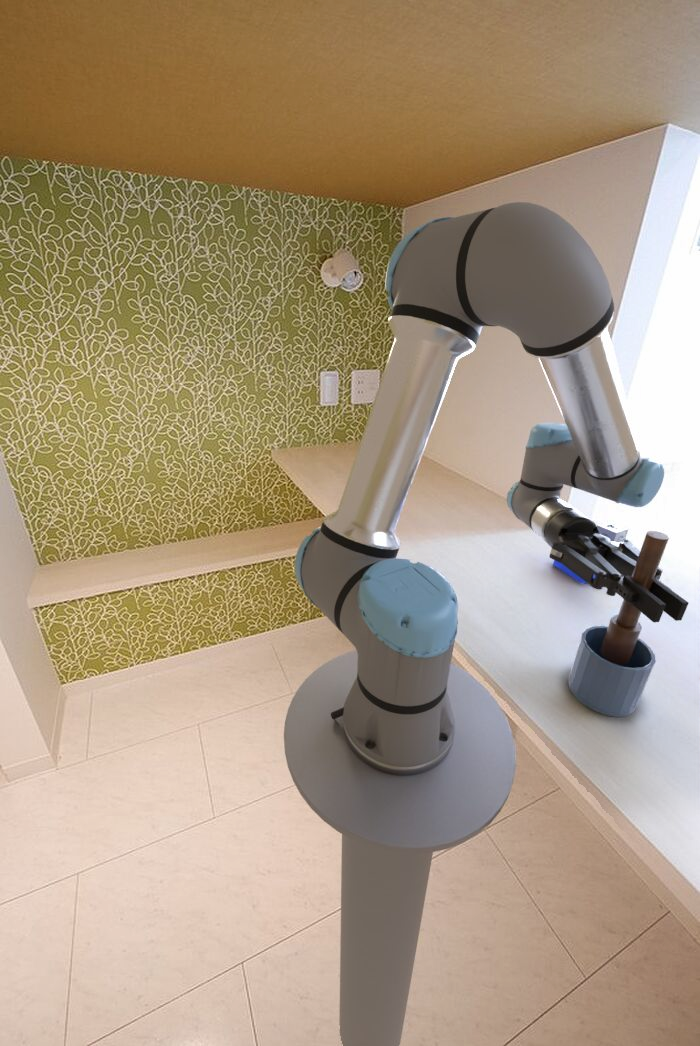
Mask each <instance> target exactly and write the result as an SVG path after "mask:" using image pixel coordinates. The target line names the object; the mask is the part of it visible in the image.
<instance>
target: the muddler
mask: <svg viewBox="0 0 700 1046" xmlns="http://www.w3.org/2000/svg"><path fill="white" fill-rule="evenodd" d="M669 539H670V537H669V536H668V535H667V534H665V533H664V532H660V531H654V530H649V531H646V534H645V537H644V540H643V541H642V545H641V548H640V550H639V551H640V554H639V557H638V560H637V562H636V565H635V568H634V571H633V574H632V577H631V578H633V579H634V580H635V581H636V582H638V583H639V584H640V585H642V586H643V587H644V588H645V589H647V590H648V591H649V590H650V587H651V585H652V582H653V579H654V577H655V574H656V571H657V569H658V567H660V563H661V561H662V558H663V555H664V552H665V550H666V547H667V545H668V542H669ZM641 614H642V612H641V611H639V610H638V609H637V608H636V607H635V606H634V605H632V604H631V603H630V602H627V601H626V600H624V599H622V602H621V606H620V609H619V611H618V614H614V615H612V616H611V617H610V619H609V623H608V625H607V627H608V629H607V632H606V635H605V637H604V640H603V643H602V646H601V649H600V652H601V655H602V656H603V657H604V658H605V659H607V660H608V661H610V662H612V663H615V664H621V665H622V664H627V663H628V662H629V660H630V658H631V655H632V653H633V650H634V647H635V645H636V642H637V639H638V638H640V637H639V636H640V634H641V632H642V630H643V629H642V628H643V626H642V624H641V622H639V619H640V616H641Z"/></svg>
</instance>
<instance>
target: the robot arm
mask: <svg viewBox="0 0 700 1046" xmlns="http://www.w3.org/2000/svg"><path fill="white" fill-rule="evenodd" d="M384 286H385V291H386V292H387V294H388V296H387V298H386V299H387V302H388V305H389V307H390V310H391V311H390V314H389V317H388V320H387V324H388V326H389V328H390V330H391V332H392V336H393V343H392V346H391V349H390V352H389V355H388V358H387V361H386V363H385V366H384V371H383V372H382V376H381V379H380V382H379V384H378V387H377V391H376V393H375V396H374V400H373V402H372V406H371V409H370V412H369V414H368V418H367V420H366V424H365V426H364V427H365V428H364V430H363V432H362V435H361V439H360V443H359V444H358V448H357V451H356V454H355V456H354V460H353V463H352V466H351V469H350V471H349V476H348V478H347V481H346V483H345V487H344V491H343V493H342V496H341V499H340V502H339V504H338V508H337V509H336V510H335V511H334V512H331V513H329V514H327V515H324V518H323V520H322V523H321V526H318V527H316V528H315V529H313V530H312V531H311V534H310V535H306V536H305V537H304V539H303V540H302V542H300V545H299V547H298V548H297V552H296V555H295V559H294V574H295V578H296V581H297V583H298V585H299V587H300V589H301V590H302V591H303V593H304V595H305V596H306V597H307V598H308V601H309V602H310V603H311V604H312V605H313V606H314V607H316V608H318V610H320V612H322V614H324V616H325V617H326V618H327V619H328V620H329V621H330V622H331V623H332V624H333V625H334V627H336V628H337V630H339V632H341V633H342V635H343V636H344V637H345V638H346V639H347V640H348V641H349V642H350V643H351V644H352V645H353V647H354V648H355V650H357V653H358V665H357V677H356V680H355V682H354V684H353V686H352V688H351V690H350V692H349V694H348V696H347V698H346V701H345V704H344V707H343V708H341V709H339V710H336V711H334V712H332V713H331V717H332V719H333V720H334V719H336V718H338V717H341V716H343V731H344V735H345V738H346V741H347V743H348V745H349V746H350V748H351V749H352V751H353V752H354V753H355V754H356V756H357V757H358V758H360V759H361V760H362V761H363V762H364V763H366V764H367V765H369V766H370V767H372V768H374V769H376V770H379V771H381V772H384V773H387V774H392V775H399V776H409V775H417V774H420V773H424V772H426V771H429V770H431V769H433V768H434V767H436V766H437V765H438V764H440V763H441V762H442V761H443V760H444V759H445V757H446V756H447V755H448V753H449V751H450V749H451V746H452V743H453V738H454V731H455V721H454V714H453V711H452V707H451V702H450V699H449V696H448V692H447V682H448V676H449V671H450V665H451V662H452V658H453V652H454V648H455V641H456V637H457V633H458V624H459V619H458V609H459V605H458V598H457V594H456V591H455V589H454V587H453V586H452V583H450V581H449V580H448V579H447V578H446V577H445V576H444V574H442V573H441V572H439V571H438V570H436V569H435V568H433V567H431V566H430V565H428V564H425V563H422V562H421V561H417V562H415V563H413V562H412V561H411V560H410V559H407V558H397V556H398V553H399V550H400V548H401V544H402V543H401V541H400V539H399V536H398V534H397V532H396V528H397V525H398V522H399V520H400V517H401V514H402V512H403V509H404V506H405V503H406V501H407V497H408V496H409V494H410V493H409V492H410V489H411V487H412V484H413V482H414V479H415V476H416V474H417V471H418V468H419V466H420V463H421V460H422V457H423V455H424V452H425V449H426V446H427V443H428V441H429V438H430V435H431V433H432V430H433V427H434V426H435V422H436V419H437V417H438V414H439V412H440V408H441V406H442V403H443V400H444V398H445V395H446V392H447V390H448V387H449V385H450V382H451V378H452V377H453V373H454V370H455V367H456V365H457V363H458V361H459V360H460V359H461V358H463V357H465V356H466V355H468V354H470V353H473V351H474V350H475V348H476V347H477V343H478V340H479V337H480V335H481V333H482V329H483V327H501V328H504V329H506V330H508V331H510V332H512V333H513V334H514V335H515V336H517V337H518V338H519V341H520V343H521V345H522V348H523V349H524V351H525V352H526V353H527V354H528V355H529V356H531V357H534V358H538V361H539V363H540V366H541V369H542V370H543V372H544V375H545V378H546V380H547V382H548V385H549V387H550V389H551V391H552V395H553V396H554V399H555V401H556V404H557V406H558V408H559V411H560V413H561V415H562V416H561V417H562V418H563V420H564V423H558V422H541V423H536V424H535V425H533V426H531V429H530V432H529V435H528V439H527V443H526V446H525V448H524V449H525V451H524V456H523V457H524V458H523V463H522V469H521V475H520V480H518V481H516V482H515V483H514V484H512V486H511V488H510V489H509V490H508V492H507V494H506V504H507V507H508V509H509V510H510V511H511V512H512V514H513V515H514V516H515V517H516V518H517V519H518V520H520V521H521V522H522V523H524V524H525V525H526V526H528V528H530V529H531V530H532V531H533V532H534V533H535V534H537V535H538V536H539V537H540V538H541V539H542V540H543V541H544V542H545V543H546V544H547V545H548V546H549V547H550V553H549V558H550V559H551V560H553V561H554V560H555V561H558V562H560V563H561V564H563V565H564V566H565V567H567V568H568V569H569V570H571V571H572V572H573V573H575V574H576V575H577V576H579V577H580V578H581V579H583V580H584V581H585V582H587V583H586V584H587V585H589V586H590V587H592V588H593V589H594V590H599V591H601V590H602V589H603V588H606V589H607V590H606V595H607V596H610V597H615V596H616V594H617V595H618V596H619V597H620V598H622V600H626V601H627V602H630V603H631V604H632V605H634V606H635V607H636V608H637V609H638V610H639V611H641V614H642V615H644V616H645V617H646V618H648V620H650V621H651V622H652V623H659V622H660V620H661V619H662V615H663V613H666V614H667V615H668V616H669V617H670V618H671V619H673V620H674V621H675V622H678V621H682V619H683V617H684V615H685V613H686V610H687V608H688V606H689V601H687V600H686V599H684V598H683V597H681V596H680V595H679V594H678V593H676V592H675V591H673V590H672V588H670V587H669V586H667V585H666V584H664V582H662V581H660V579H661V576H662V574H663V569H662V568H661V567H660V566H658V569H657V571H656V574H655V577H654V579H653V582H652V585H651V587H650V590H649V591H648V590H647V589H645V588H644V587H643V586H642V585H640V584H639V583H638V582H636V581H635V580H634V579H633V578H631V577H632V574H633V571H634V568H635V565H636V562H637V560H638V557H639V554H640V551H641V550H639V549H637V548H636V547H635V546H634V545H633V543H632V541H631V540H630V539H627V538H625V539H622V541H621V542H620V543H618V542H611V540H610V539H609V538H608V537H606V536H603V535H601V534H600V533H599V531H598V528H597V524H596V523H595V522H594V520H592V519H591V518H589V517H588V516H587V515H585V514H584V513H582V512H581V511H579V509H577V508H576V507H574V506H572V505H571V504H569V503H568V502H566V501H564V499H562V498H561V494H562V490H563V488H564V485H565V486H567V487H570V488H574V489H576V490H577V489H578V490H580V491H583V492H585V493H589V494H592V495H595V496H597V497H601V498H603V499H605V500H606V499H607V500H609V501H612V502H615V504H621V505H622V504H623V505H626V506H630V507H633V508H643V507H646V506H647V505H648V504H649V503H651V502H652V501H653V499H654V498H655V497H656V495H657V494H658V492H659V491H660V489H661V487H662V485H663V481H664V477H665V468H664V466H663V464H662V463H661V462H659V461H656V460H654V459H650V458H649V457H641V454H640V450H639V447H638V442H637V440H636V435H635V431H634V427H633V424H632V418H631V415H630V412H629V407H628V402H627V399H626V395H625V391H624V387H623V383H622V379H621V375H620V372H619V367H618V363H617V359H616V355H615V351H614V347H613V343H612V339H611V336H610V335H611V334H610V331H609V326H610V324H611V322H612V320H613V318H614V315H615V302H614V299H613V295H612V290H611V287H610V283H609V280H608V277H607V274H606V273H605V271H604V268H603V266H602V264H601V263H600V260H599V259H598V257H597V256H596V254H595V252H594V251H593V249H592V247H591V246H590V245H589V244H588V242H587V241H586V240H585V238H584V237H583V235H581V234H580V232H578V230H577V229H576V228H575V227H574V226H573V225H572V223H570V222H568V221H567V219H565V218H564V217H562V216H561V215H560V214H558V213H556V212H554V210H551V209H549V208H548V207H545V206H542V205H540V204H537V203H532V202H525V201H524V202H523V201H517V202H509V203H503V204H501V205H498V206H497V207H492V208H487V209H484V210H478V211H476V212H471V213H466V214H462V215H459V216H455V217H454V216H442V217H438V218H434V219H431V220H430V221H428V222H426V223H425V224H424V223H423V224H422V225H419V226H417V227H415V228H414V229H412V230H410V231H409V232H408V233H407V234H406V235H404V236H403V237H402V238H401V240H400V241H398V243H397V245H396V246H395V248H394V250H393V252H392V253H391V256H390V258H389V261H388V265H387V268H386V273H385V284H384ZM593 575H595V579H594V578H593ZM622 577H623V578H622Z"/></svg>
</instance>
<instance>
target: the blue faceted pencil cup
mask: <svg viewBox="0 0 700 1046" xmlns="http://www.w3.org/2000/svg"><path fill="white" fill-rule="evenodd" d="M607 629H608V625H607V626H606V625H594V626H590V627H587V628H585V629H584V631H583V632H582V633H581V636H580V639H579V642H578V645H577V648H576V651H575V655H574V658H573V662H572V665H571V668H570V671H569V675H568V679H567V685H568V687H569V690H570V692H571V694H572V696H574V697H575V698H576V699H577V701H579V702H580V703H581V704H582V705H584V706H585V707H587V708H589V710H592V711H594V712H596V713H599V714H601V715H603V716H607V717H612V718H613V717H616V718H623V717H627V716H629V715H631V714H633V713H634V712H635V710H636V708H637V706H638V705H639V702H640V700H641V697H642V695H643V694H644V691H645V688H646V686H647V683H648V681H649V679H650V676H651V674H652V672H653V669H654V667H655V664H656V662H657V661H656V654H655V653H654V651H653V649H652V647H650V646H649V645H648V644H647V643H646V642H645V641H644V640H642V639H641V638H640V637H638V639H637V642H636V645H635V647H634V650H633V653H632V655H631V658H630V660H629V662H628V663H627V664H622V665H621V664H615V663H612V662H610V661H608V660H607V659H605V658H604V657H603V656H602V655H601V652H600V649H601V646H602V643H603V640H604V637H605V635H606V632H607Z"/></svg>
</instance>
